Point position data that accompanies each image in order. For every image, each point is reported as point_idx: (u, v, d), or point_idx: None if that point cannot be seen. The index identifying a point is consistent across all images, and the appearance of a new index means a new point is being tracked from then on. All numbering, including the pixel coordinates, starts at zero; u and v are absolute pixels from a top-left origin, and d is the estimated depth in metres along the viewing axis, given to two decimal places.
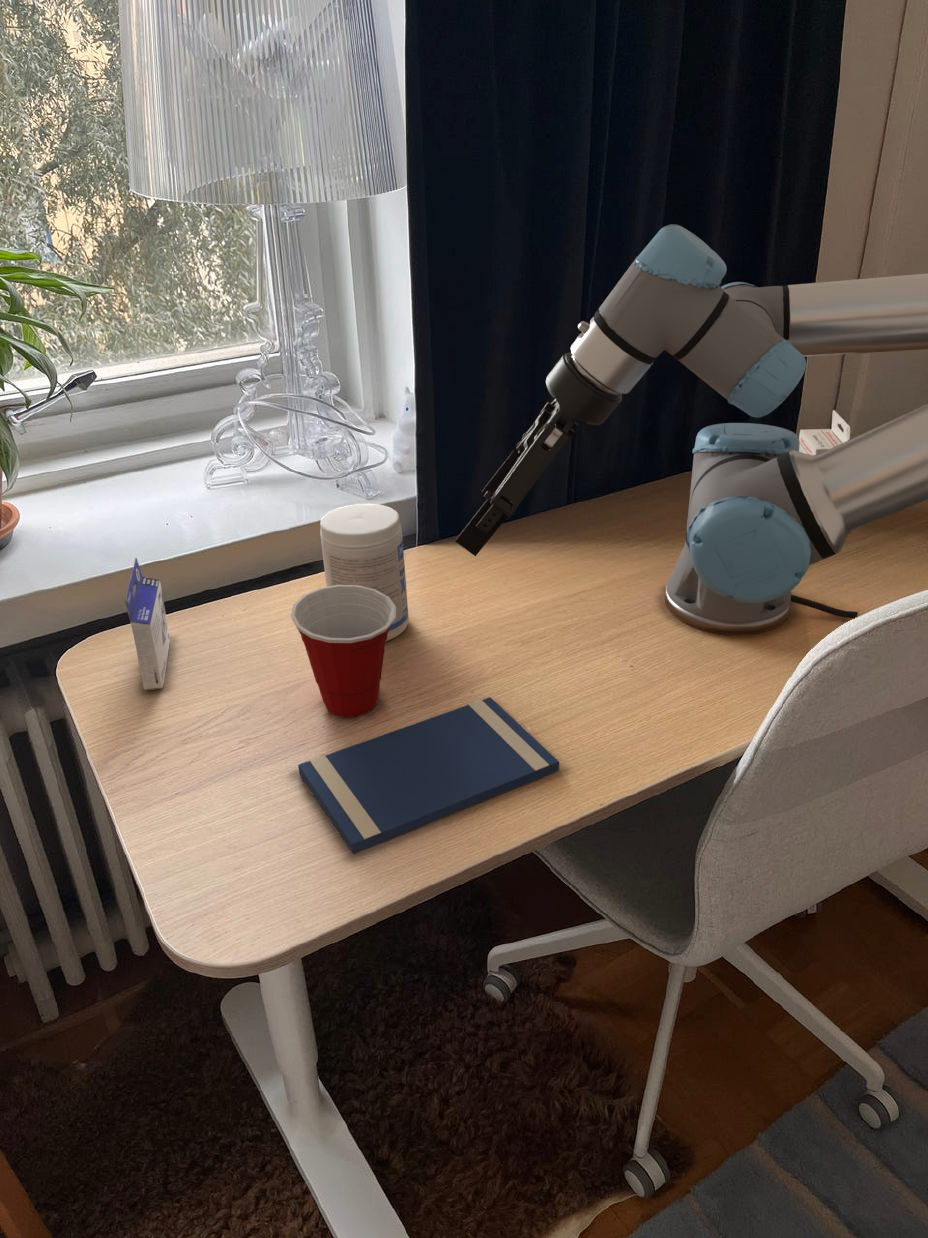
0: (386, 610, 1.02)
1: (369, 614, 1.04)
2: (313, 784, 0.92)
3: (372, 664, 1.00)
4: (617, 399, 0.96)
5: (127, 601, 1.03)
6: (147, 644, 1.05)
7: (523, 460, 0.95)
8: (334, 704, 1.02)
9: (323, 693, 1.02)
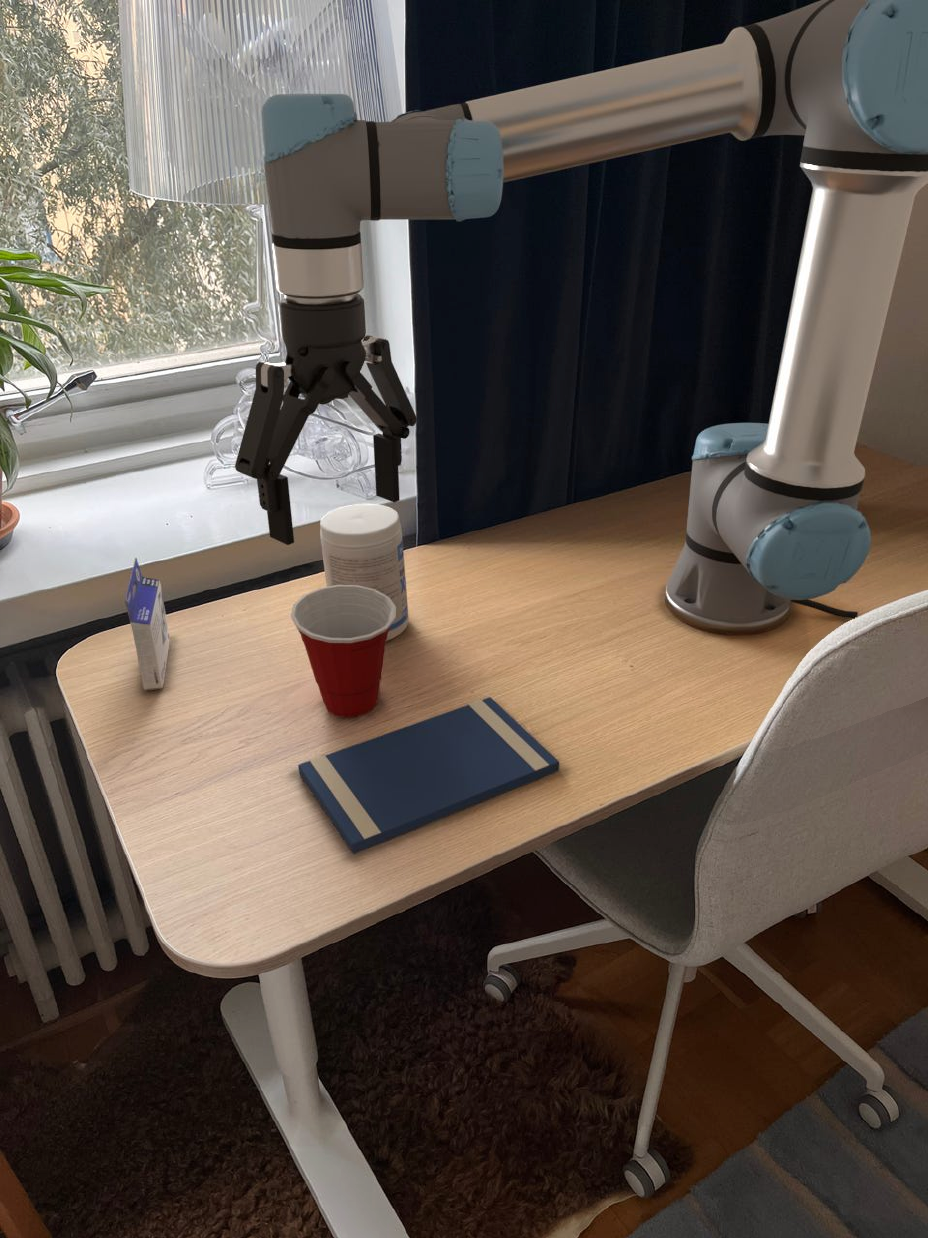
0: (386, 610, 1.02)
1: (369, 614, 1.04)
2: (313, 784, 0.92)
3: (372, 664, 1.00)
4: (329, 306, 0.81)
5: (127, 601, 1.03)
6: (147, 644, 1.05)
7: (250, 413, 0.84)
8: (334, 704, 1.02)
9: (323, 693, 1.02)
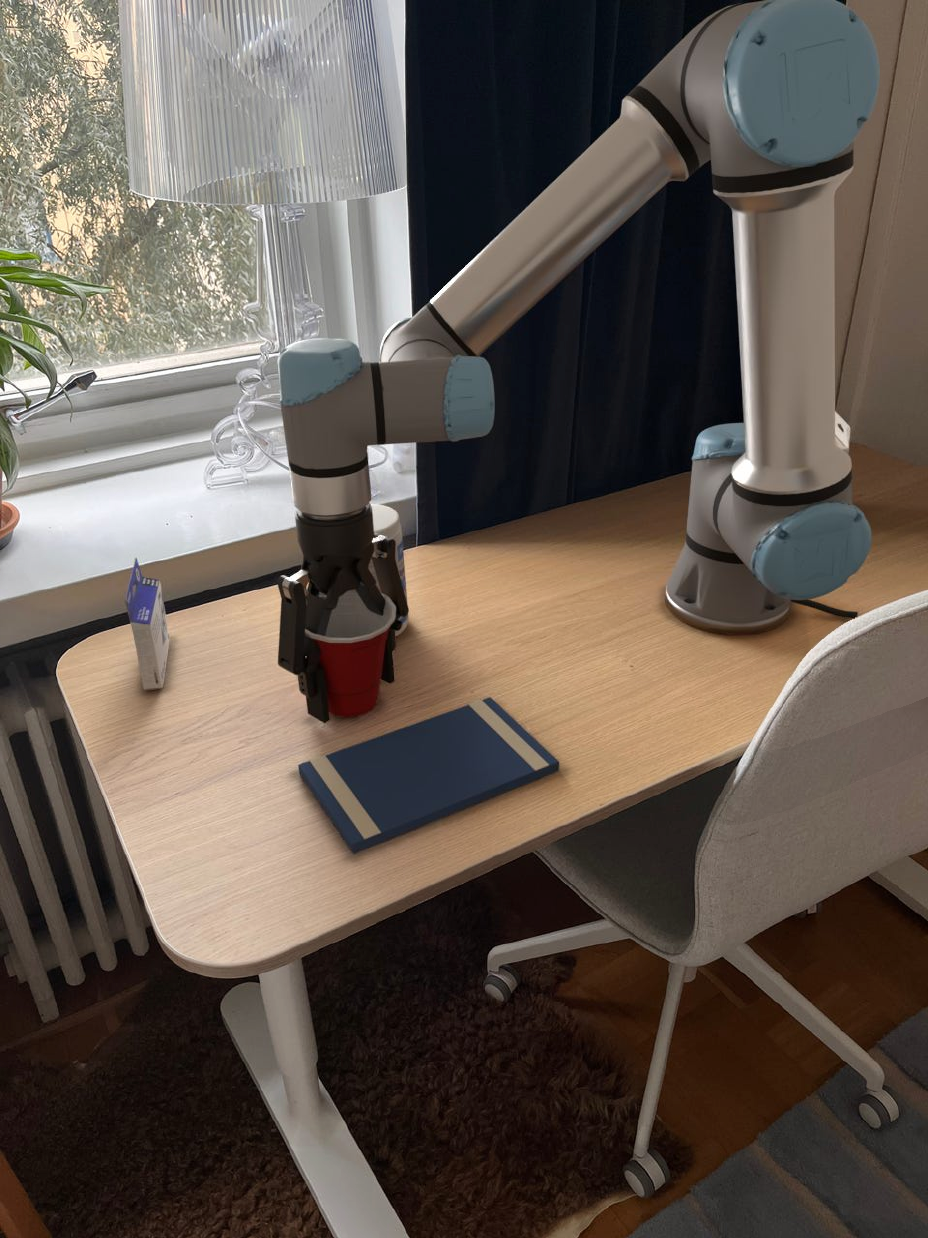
0: (386, 610, 1.02)
1: (369, 614, 1.04)
2: (313, 784, 0.92)
3: (372, 664, 1.00)
4: (341, 522, 0.91)
5: (127, 601, 1.03)
6: (147, 644, 1.05)
7: (281, 619, 0.95)
8: (334, 704, 1.02)
9: None
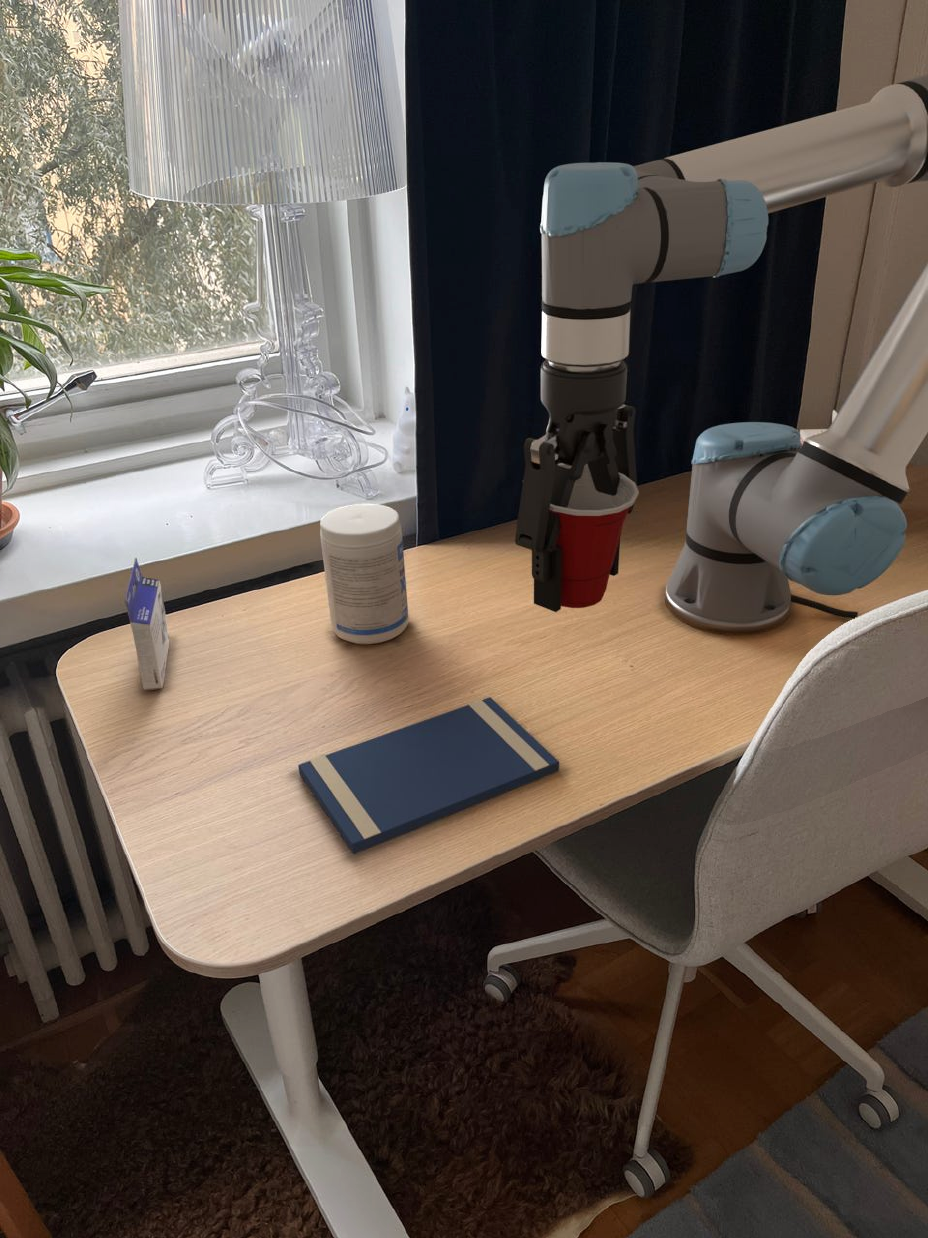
0: (621, 488, 0.92)
1: (597, 495, 0.94)
2: (313, 784, 0.92)
3: (611, 545, 0.90)
4: (602, 374, 0.81)
5: (127, 601, 1.03)
6: (147, 644, 1.05)
7: (523, 489, 0.85)
8: (563, 592, 0.92)
9: None
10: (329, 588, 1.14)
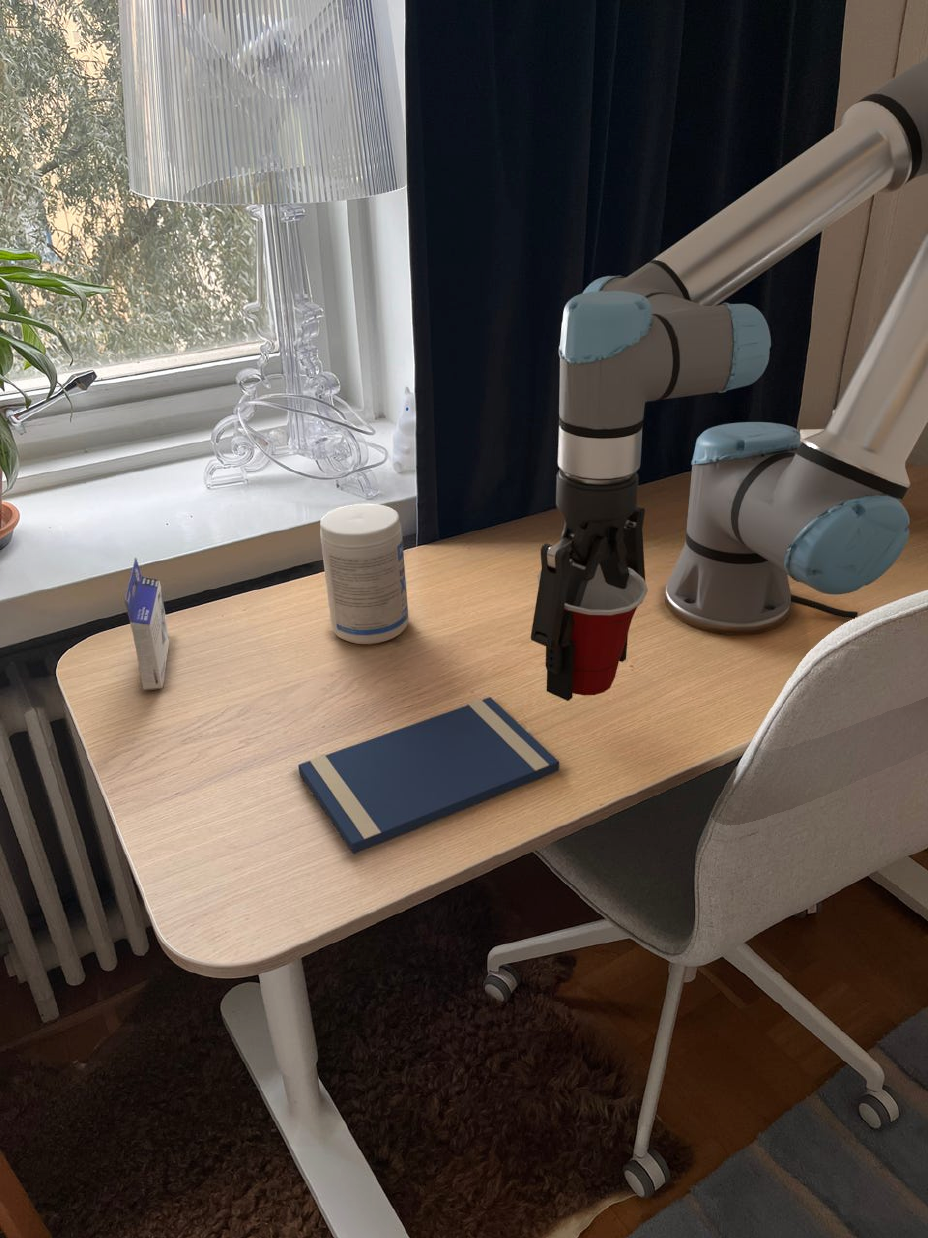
0: (631, 583, 0.97)
1: (607, 587, 0.99)
2: (313, 784, 0.92)
3: (621, 639, 0.95)
4: (615, 486, 0.86)
5: (127, 601, 1.03)
6: (147, 644, 1.05)
7: (539, 590, 0.90)
8: (575, 681, 0.97)
9: None
10: (329, 588, 1.14)
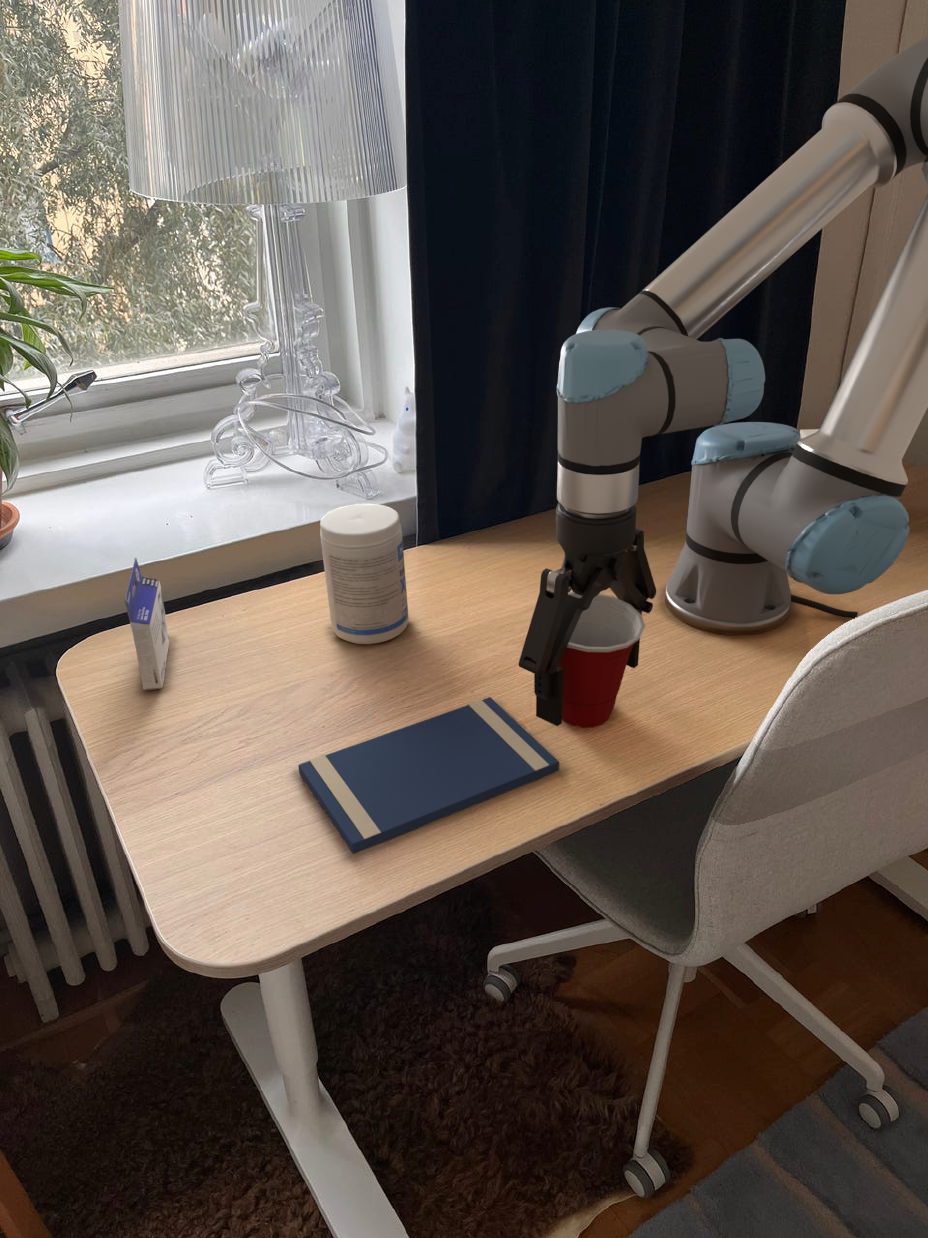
0: (628, 618, 0.99)
1: (605, 622, 1.01)
2: (313, 784, 0.92)
3: (619, 673, 0.97)
4: (613, 520, 0.88)
5: (127, 601, 1.03)
6: (147, 644, 1.05)
7: (534, 615, 0.91)
8: (574, 714, 0.99)
9: (562, 703, 0.99)
10: (329, 588, 1.14)
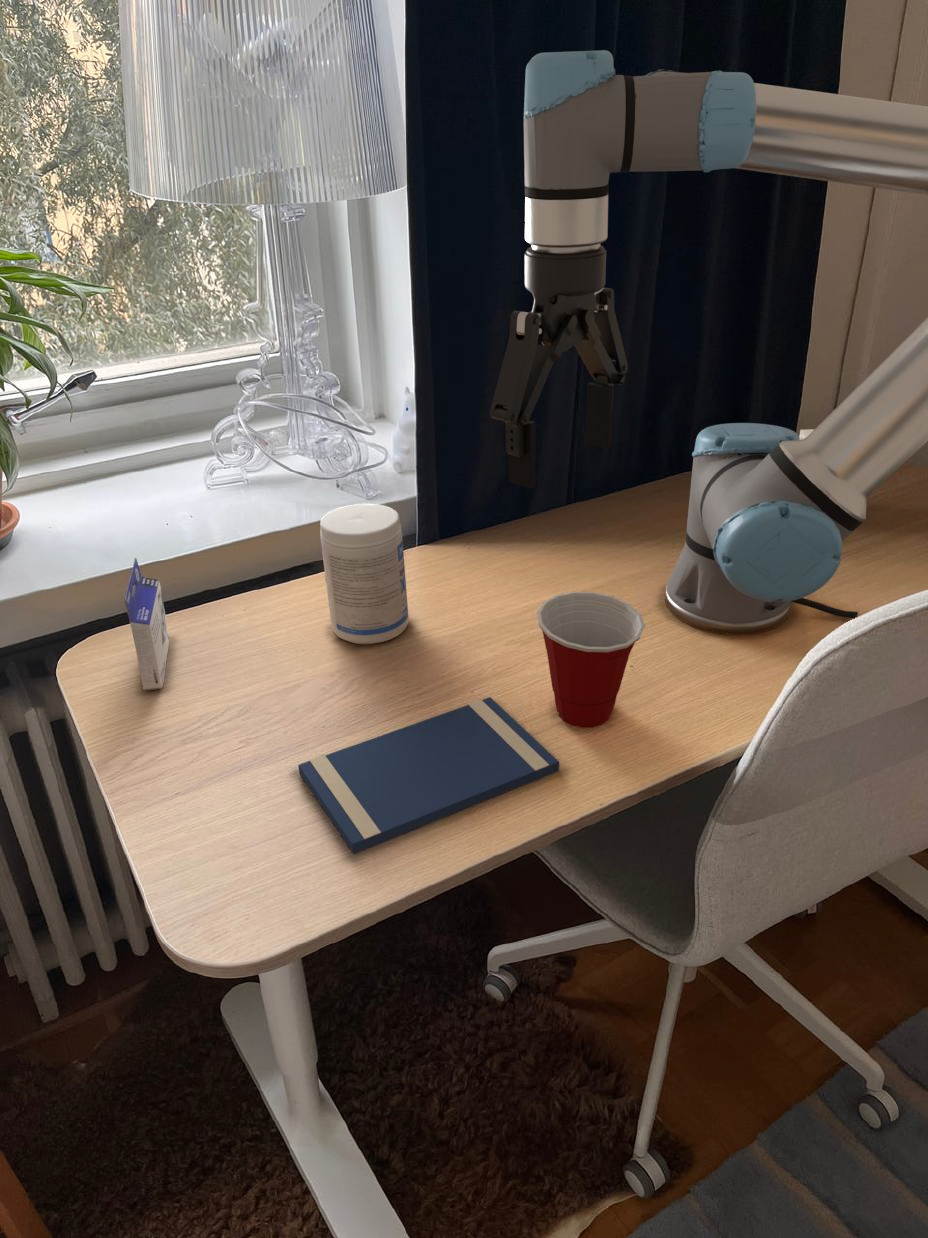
0: (628, 618, 0.99)
1: (605, 622, 1.01)
2: (313, 784, 0.92)
3: (619, 673, 0.97)
4: (583, 254, 0.86)
5: (126, 601, 1.03)
6: (146, 644, 1.05)
7: (504, 360, 0.88)
8: (574, 714, 0.99)
9: (562, 703, 0.99)
10: (329, 588, 1.14)
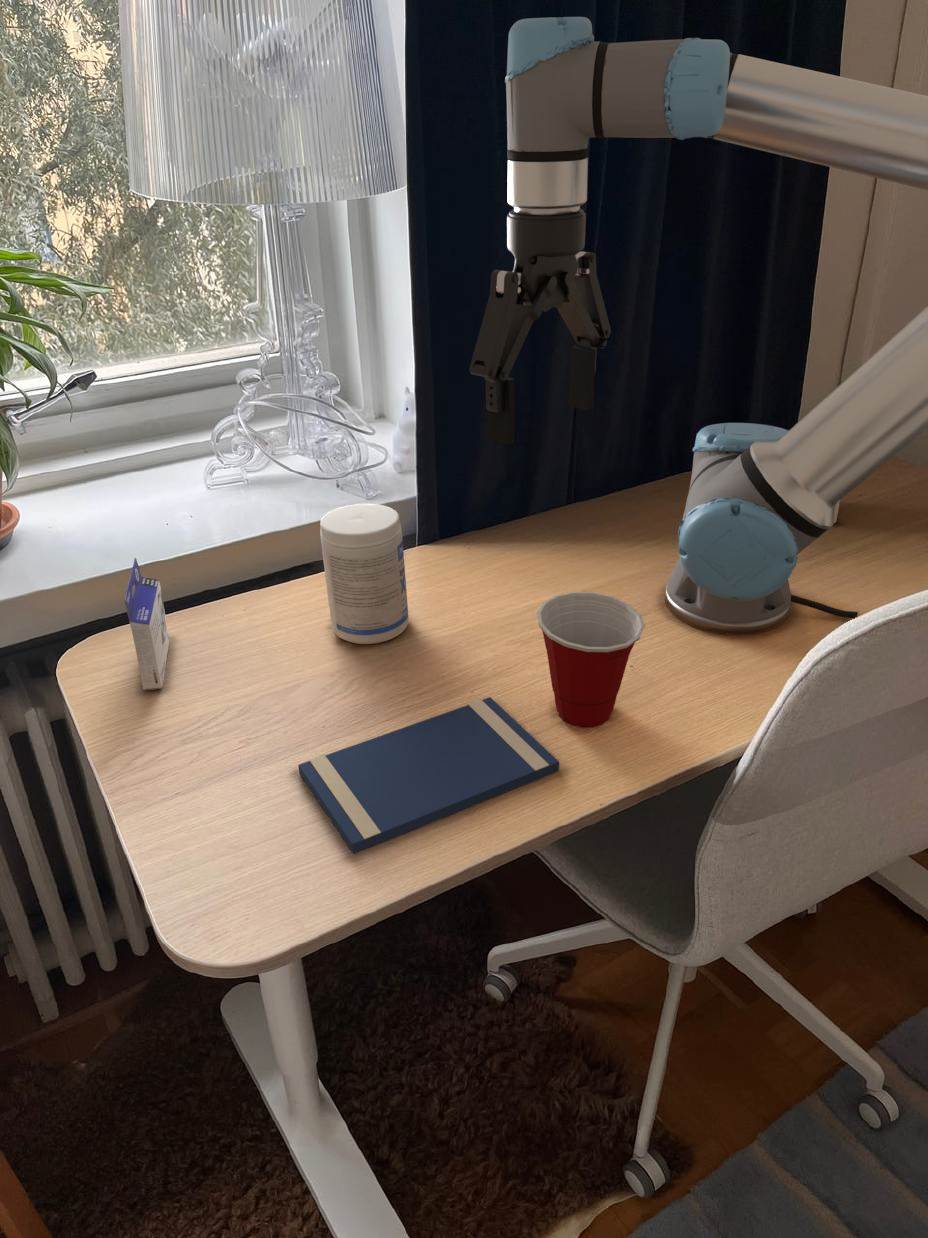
0: (628, 618, 0.99)
1: (605, 622, 1.01)
2: (313, 784, 0.92)
3: (619, 673, 0.97)
4: (562, 216, 0.89)
5: (126, 601, 1.03)
6: (146, 644, 1.05)
7: (484, 318, 0.92)
8: (574, 714, 0.99)
9: (562, 703, 0.99)
10: (329, 588, 1.14)
